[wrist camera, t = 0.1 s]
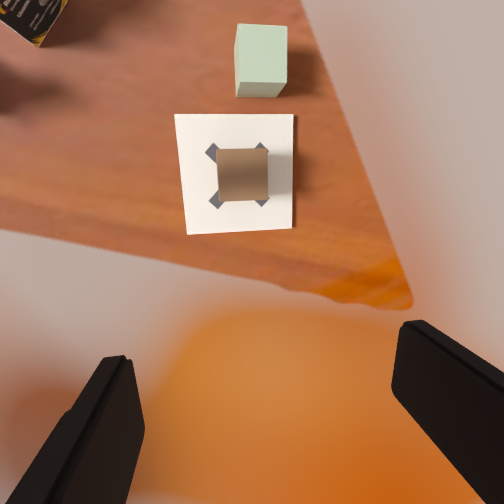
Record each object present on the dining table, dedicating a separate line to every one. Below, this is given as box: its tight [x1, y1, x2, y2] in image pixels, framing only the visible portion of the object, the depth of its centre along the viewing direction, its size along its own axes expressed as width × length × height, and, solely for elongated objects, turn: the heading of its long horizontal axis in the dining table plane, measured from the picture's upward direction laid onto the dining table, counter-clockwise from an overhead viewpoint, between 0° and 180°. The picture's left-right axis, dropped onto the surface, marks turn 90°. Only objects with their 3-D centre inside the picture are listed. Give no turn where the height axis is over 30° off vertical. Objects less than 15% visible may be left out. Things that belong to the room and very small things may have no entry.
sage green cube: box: [234, 24, 287, 98], centre depth 31 cm, size 6×6×6 cm
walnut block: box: [216, 148, 268, 202], centre depth 33 cm, size 6×6×6 cm
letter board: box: [174, 114, 293, 235], centre depth 36 cm, size 16×16×1 cm
